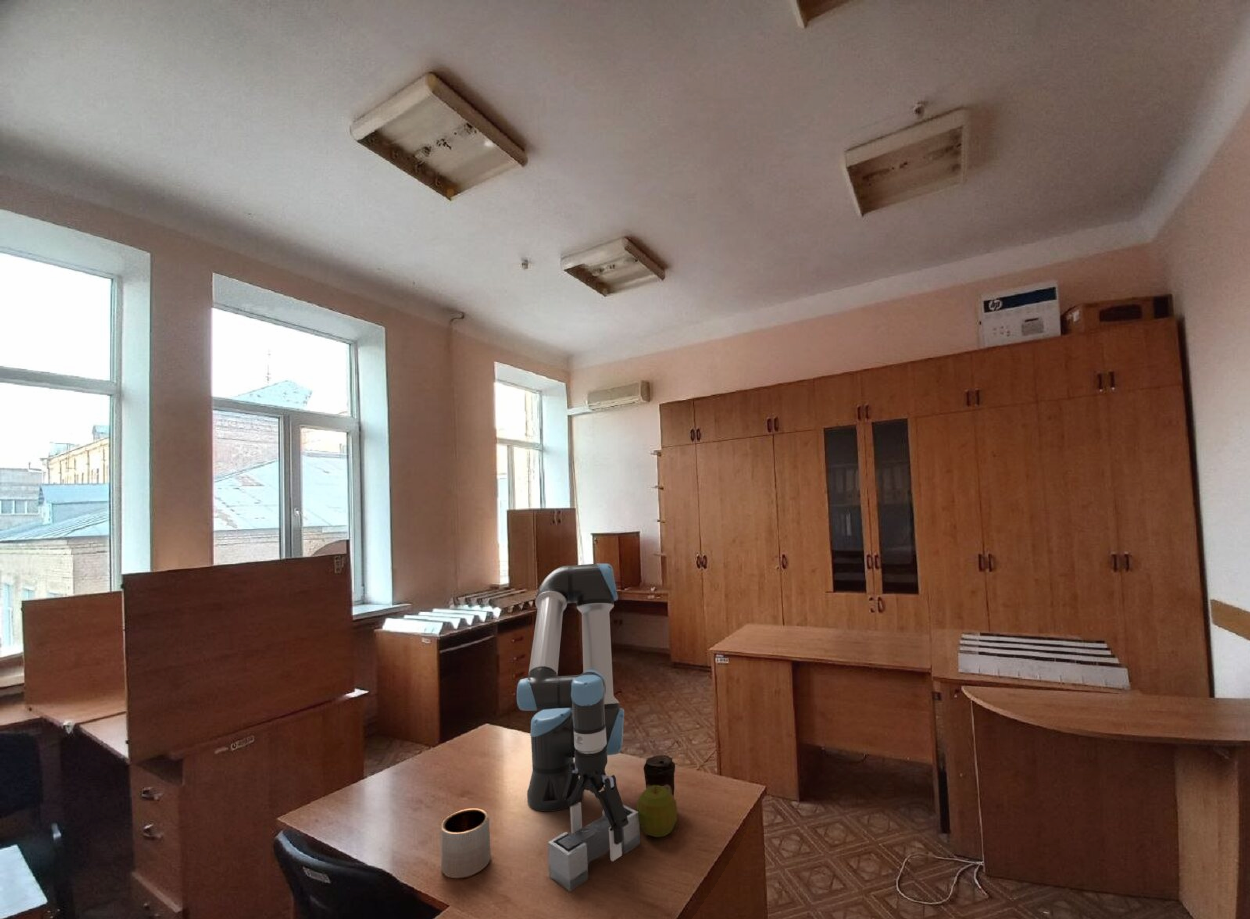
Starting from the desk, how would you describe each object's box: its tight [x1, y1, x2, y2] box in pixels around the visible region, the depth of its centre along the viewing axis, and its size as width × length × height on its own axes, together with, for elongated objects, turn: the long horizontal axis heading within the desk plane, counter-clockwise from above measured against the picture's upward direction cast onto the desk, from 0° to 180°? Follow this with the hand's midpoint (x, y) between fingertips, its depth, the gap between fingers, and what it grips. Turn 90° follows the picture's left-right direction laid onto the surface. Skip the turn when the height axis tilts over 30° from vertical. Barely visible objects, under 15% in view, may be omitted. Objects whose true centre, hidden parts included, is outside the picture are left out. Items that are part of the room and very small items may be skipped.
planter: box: [440, 807, 492, 879], centre depth 122 cm, size 11×11×10 cm
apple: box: [636, 785, 678, 838], centre depth 129 cm, size 10×10×11 cm
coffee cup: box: [643, 754, 676, 798], centre depth 138 cm, size 9×8×13 cm
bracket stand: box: [547, 804, 641, 892], centre depth 120 cm, size 7×21×7 cm, turn 134°
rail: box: [558, 815, 627, 864], centre depth 120 cm, size 4×17×5 cm, turn 133°
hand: (595, 845), depth 120 cm, fingers open, 13 cm apart
